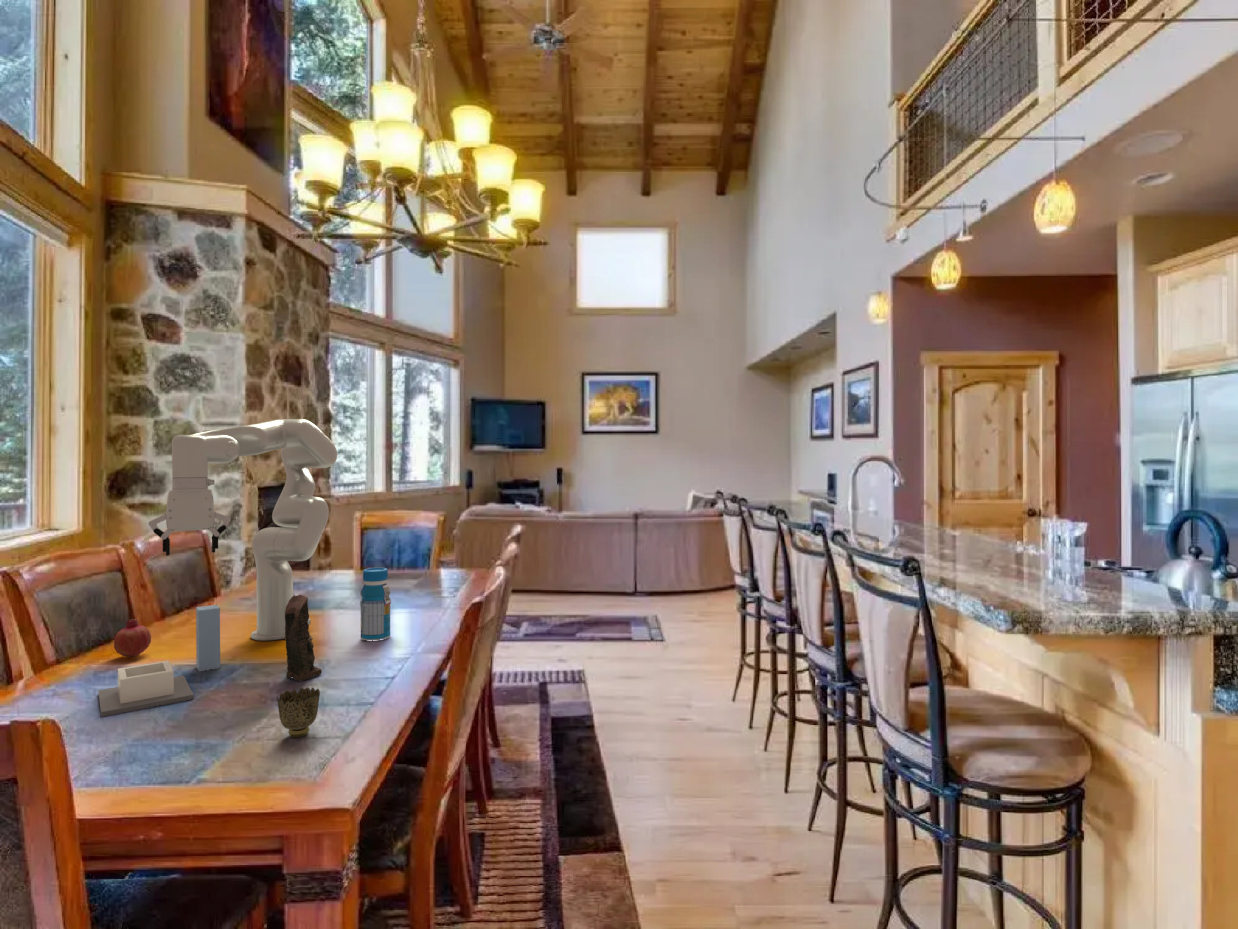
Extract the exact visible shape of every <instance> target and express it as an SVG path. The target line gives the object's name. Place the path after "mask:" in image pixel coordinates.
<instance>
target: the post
mask: <svg viewBox="0 0 1238 929" xmlns="http://www.w3.org/2000/svg"><path fill="white" fill-rule="evenodd" d="M195 619H196V620H195V625H196V628H195V635H196V638H195V639H196V640H195V641H196V644H195V645H196V648H195V649H196V650H195V651H196V652H195V653H196V655H195V656H196V661H195V662H196V669H197V670H198V672H199V673H200V672H206V671H211V670H210V669H212V670H216V669H217V670H218V669H221V607H219V606H218V604H212V605H205V606H204V605H203V606H197V607H195ZM205 670H206V671H205Z"/></svg>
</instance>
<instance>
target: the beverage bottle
mask: <svg viewBox="0 0 1238 929" xmlns="http://www.w3.org/2000/svg"><path fill="white" fill-rule="evenodd" d="M388 575H389V571H388V568H386V567H368V568H365V569H363V571H362V580H363V582H364V584H363V586H362V588H361V590H360V596H361V598H360V600H359V606H360V609H359V610H360V639H361V640H362V639H363V640H362V641H364V640H372V641H371V642H374V641H373V640H380V639H385V638H387V639H389V638H390V637H391V604H392V598H391V597H390V595H391V588H390V587H389V584H387V582H386V581H388V578H389V576H388ZM385 640H386V639H385Z"/></svg>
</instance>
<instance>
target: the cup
mask: <svg viewBox="0 0 1238 929" xmlns="http://www.w3.org/2000/svg"><path fill="white" fill-rule="evenodd" d="M320 694H321V691H320V689H319V688H317V689H315V688H314V687H311V690H310V688H309V687H305V688H304V687H301V688H300V689H299V690H298V691H297V690H296V688H293V690H292V691H291V690H288V689H286V690H284V692H283V693H282V692H280V693H279V698H278V696H276V700H277V701H276V702H277V708H278V709H277V711H278V715H279V720H280V723H281V725H282V726H283V727H284V728H285V729H286V730H288V731H287V734H288V736H289V737H291V738H295V739H296V738H302V737H305V736H306V735H308V734H309V732H310V726H312V725H313V723H315V721H316V719H317V716H318V712H319V711H318V710H319V705H320V704H319V703H320V696H321V695H320Z"/></svg>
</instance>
